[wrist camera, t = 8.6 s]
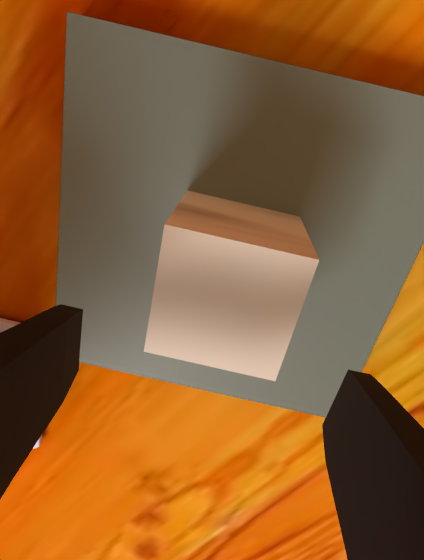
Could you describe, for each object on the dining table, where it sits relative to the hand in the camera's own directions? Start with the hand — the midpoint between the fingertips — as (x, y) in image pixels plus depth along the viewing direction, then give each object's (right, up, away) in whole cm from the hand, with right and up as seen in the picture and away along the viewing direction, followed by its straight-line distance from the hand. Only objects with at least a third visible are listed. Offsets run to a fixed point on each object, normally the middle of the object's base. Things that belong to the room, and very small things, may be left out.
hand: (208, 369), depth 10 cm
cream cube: (+1, +4, +7) cm, 8 cm away
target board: (+1, +4, +8) cm, 9 cm away
